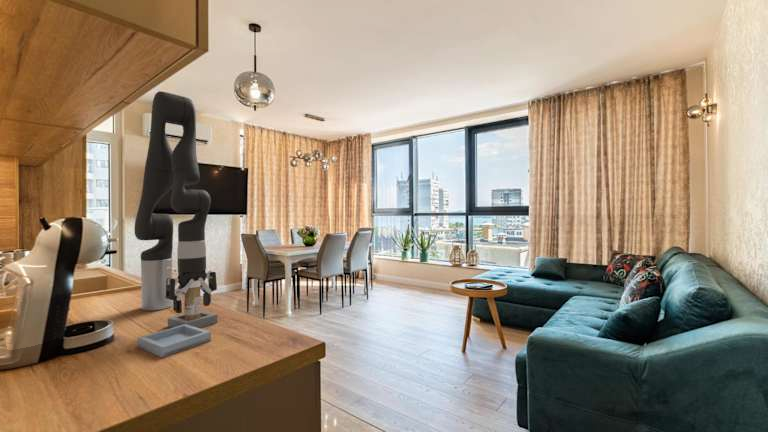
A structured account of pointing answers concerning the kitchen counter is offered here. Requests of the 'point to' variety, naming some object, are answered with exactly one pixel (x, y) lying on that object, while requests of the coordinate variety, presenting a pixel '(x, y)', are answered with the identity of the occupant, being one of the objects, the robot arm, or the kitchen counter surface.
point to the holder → (200, 322)
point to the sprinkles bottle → (193, 302)
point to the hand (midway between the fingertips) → (192, 309)
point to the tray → (173, 340)
